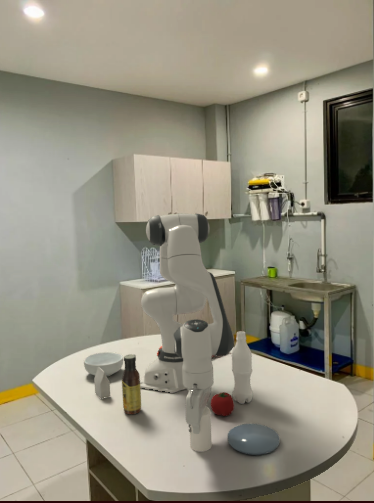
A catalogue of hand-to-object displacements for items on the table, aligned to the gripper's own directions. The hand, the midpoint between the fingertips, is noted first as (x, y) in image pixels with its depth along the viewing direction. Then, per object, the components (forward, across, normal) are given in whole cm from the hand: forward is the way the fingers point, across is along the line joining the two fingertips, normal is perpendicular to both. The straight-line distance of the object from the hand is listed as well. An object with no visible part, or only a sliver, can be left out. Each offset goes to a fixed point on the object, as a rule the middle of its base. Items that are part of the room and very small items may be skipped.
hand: (199, 423), depth 117 cm
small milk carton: (+7, +28, +43) cm, 52 cm away
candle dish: (+7, +4, -15) cm, 17 cm away
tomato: (+7, +20, -4) cm, 22 cm away
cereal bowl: (+6, +48, +51) cm, 71 cm away
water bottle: (+7, +30, -10) cm, 32 cm away
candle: (+7, 0, 0) cm, 7 cm away
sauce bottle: (+7, +17, +27) cm, 33 cm away
